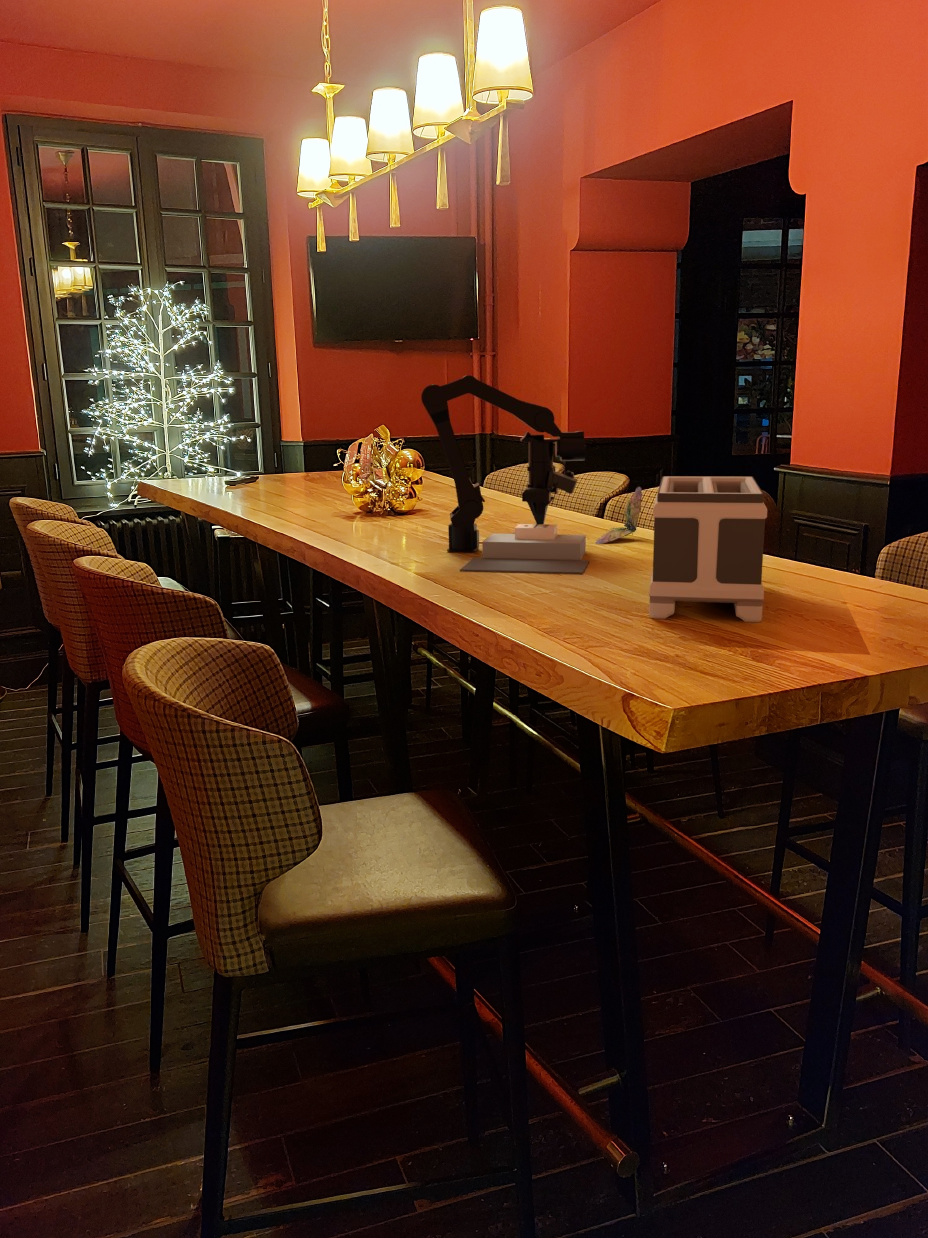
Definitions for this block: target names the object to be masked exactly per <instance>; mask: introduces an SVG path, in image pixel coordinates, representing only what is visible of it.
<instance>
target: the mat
mask: <svg viewBox="0 0 928 1238" xmlns="http://www.w3.org/2000/svg"><path fill="white" fill-rule="evenodd" d="M589 563H590V560H589V559H581V560H562V559H516V558H483V557H473V558H472V559H470V560H469V561H468V562H467V563H466V564H464V565H463V566H462V567H461V568H460V569H459V572H479V573H480V572H481V573H482V572H483V573H515V574H516V573H519V574H521V573H522V574H555V575H556V574H558V575H559V574H561V575H584V573H585V571H586V569H587V567H588V565H589Z"/></svg>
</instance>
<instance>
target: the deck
mask: <svg viewBox="0 0 928 1238" xmlns="http://www.w3.org/2000/svg"><path fill="white" fill-rule="evenodd" d="M586 535H587V534H557V536H556V537H555V539H515V533H491V534H490V535H489V536H487V538H485V539H483V540H482V543H481V544H482V558H516V559H562V560H583V557H584V555H585V554H586V541H587V540H586V539H587V537H586Z"/></svg>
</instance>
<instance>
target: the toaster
mask: <svg viewBox="0 0 928 1238" xmlns="http://www.w3.org/2000/svg"><path fill="white" fill-rule="evenodd" d="M658 487H659V488H658V490H657V492H656V496H655V500H654V504H653V508H652V517H653V518H654V521H653V522H654V524H653V555H652V558H653V559H652V560H653V561H652V572H651V577H650V584H649V592H648V598H649V599H648V600H649V602H648V603H649V604H648V607H649V609H648V614H649V615H648V616H649V617H650V618H651V619H655V620H666V619H667V618H668V617H670V616H672V615H674V614H675V609H676V602H689V603H690V602H692V603H693V602H694V603H695V602H699V603H725V604H733V606H734V611H735V616H736V617H738V618H740V619H741V620H743V622H744V623H759V622H761V621H762V619H763V605H764V600H765V588H764V586H763V583H762V581H763V580H762V578H763V560H764V545H765V544H764V543H765V527H766V526H765V524H766V519H767V518H768V508H767V506H766V504H765V502H764V501H765V500H764V499H765V498H764V496H765V494H764V492H763V491H762V488H760V486H759V485H758V483H757V481H756V479H755V478H754V476H702V475H701V476H698V475H697V476H688V475H685V476H682V475H681V476H680V475H679V476H678V475H677V476H676V475H675V476H671V475H670V476H669V475H668V476H665V475H664V476H661V480H660V484H659V486H658Z"/></svg>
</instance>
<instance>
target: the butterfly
mask: <svg viewBox="0 0 928 1238" xmlns="http://www.w3.org/2000/svg"><path fill="white" fill-rule="evenodd" d="M642 497H643V490H642V487H641V486H637V487H636V488H635V491H634V493H633V494H632V496H631V497H630V498H627V500H626V501H625V506H624V510H623V516H624V518H625V520H626V522H625V523H624V525H623V526H624V527H620V526H619V527H617V526H614V527H611V528H609V529H608V530H606V531H605V532H603V534H602V535H601V536H600V537H599V538H597V539H596V540H595V541H596V542H595V544H597V545H601V544H606V543H610V542H613V541H616V540H620V539H621V538H625V537H627V536H628V535H632V537H633V535H634V534H633V533H635V532H636V531H637V528H638V527H640V526H644V525H645V523H643V524H641V525H638V522H639V517H640V513H641V511H642V510H641V509H642V499H643V498H642ZM632 540H633V541H632V542H634V540H635V539H634V538H633V539H632Z"/></svg>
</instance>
